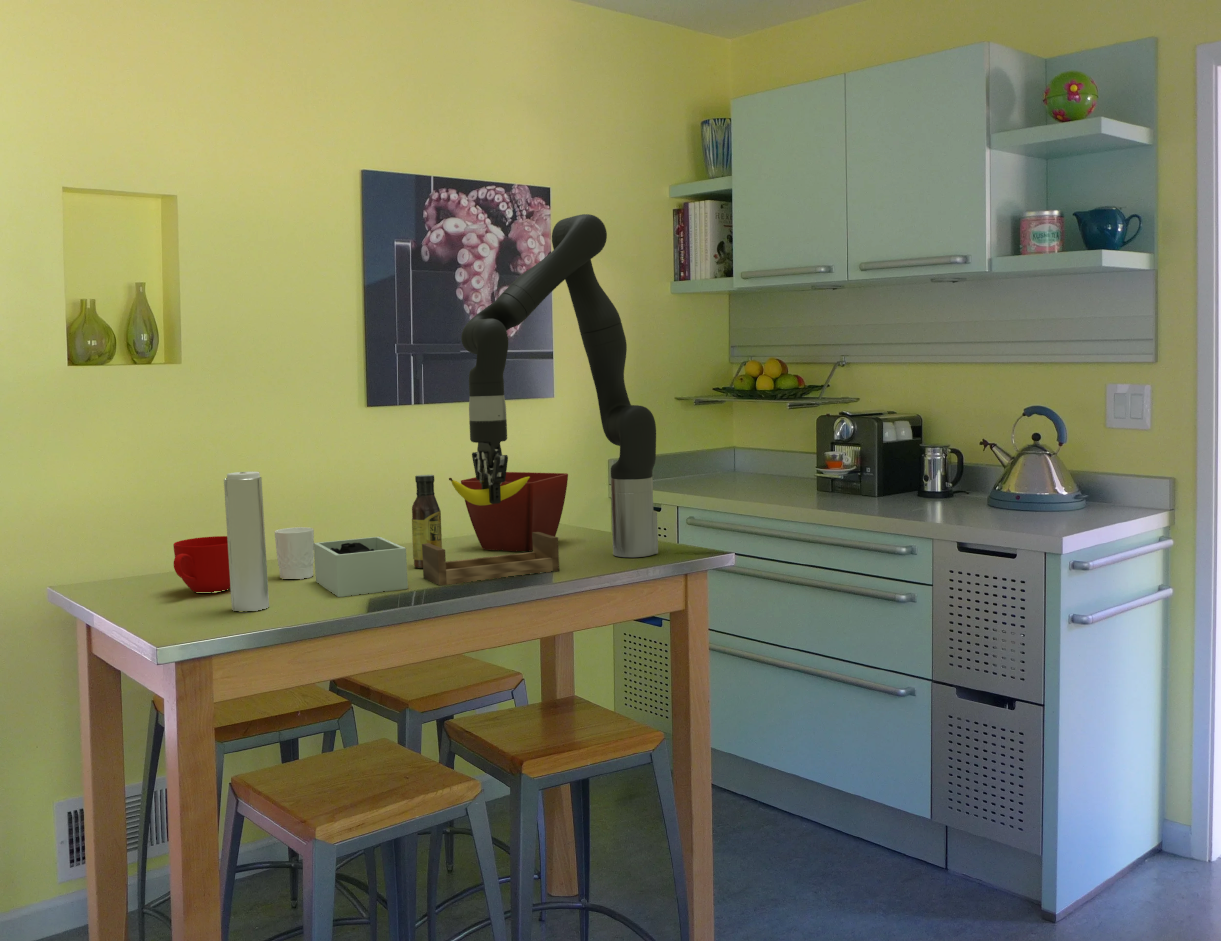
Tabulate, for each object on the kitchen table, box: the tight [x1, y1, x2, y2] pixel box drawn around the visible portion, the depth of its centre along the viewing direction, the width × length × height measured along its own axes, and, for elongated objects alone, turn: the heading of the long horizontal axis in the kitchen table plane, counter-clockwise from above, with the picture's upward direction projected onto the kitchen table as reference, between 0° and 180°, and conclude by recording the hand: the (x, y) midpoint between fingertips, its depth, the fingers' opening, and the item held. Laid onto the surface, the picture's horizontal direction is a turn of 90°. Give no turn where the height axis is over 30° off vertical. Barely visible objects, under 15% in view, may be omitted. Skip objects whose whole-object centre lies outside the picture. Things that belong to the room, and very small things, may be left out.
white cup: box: [274, 526, 315, 580], centre depth 235 cm, size 8×8×10 cm
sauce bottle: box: [411, 474, 443, 569], centre depth 242 cm, size 7×6×20 cm
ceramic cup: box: [173, 535, 231, 592], centre depth 221 cm, size 13×17×10 cm
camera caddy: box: [314, 536, 409, 598], centre depth 224 cm, size 14×19×8 cm
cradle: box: [422, 532, 560, 586], centre depth 232 cm, size 26×10×7 cm, turn 117°
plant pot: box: [460, 471, 569, 552], centre depth 265 cm, size 19×19×17 cm
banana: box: [448, 476, 530, 505], centre depth 229 cm, size 3×19×6 cm, turn 127°
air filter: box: [223, 471, 270, 612], centre depth 204 cm, size 6×6×25 cm
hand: (491, 502), depth 230 cm, fingers closed on banana, 3 cm apart
